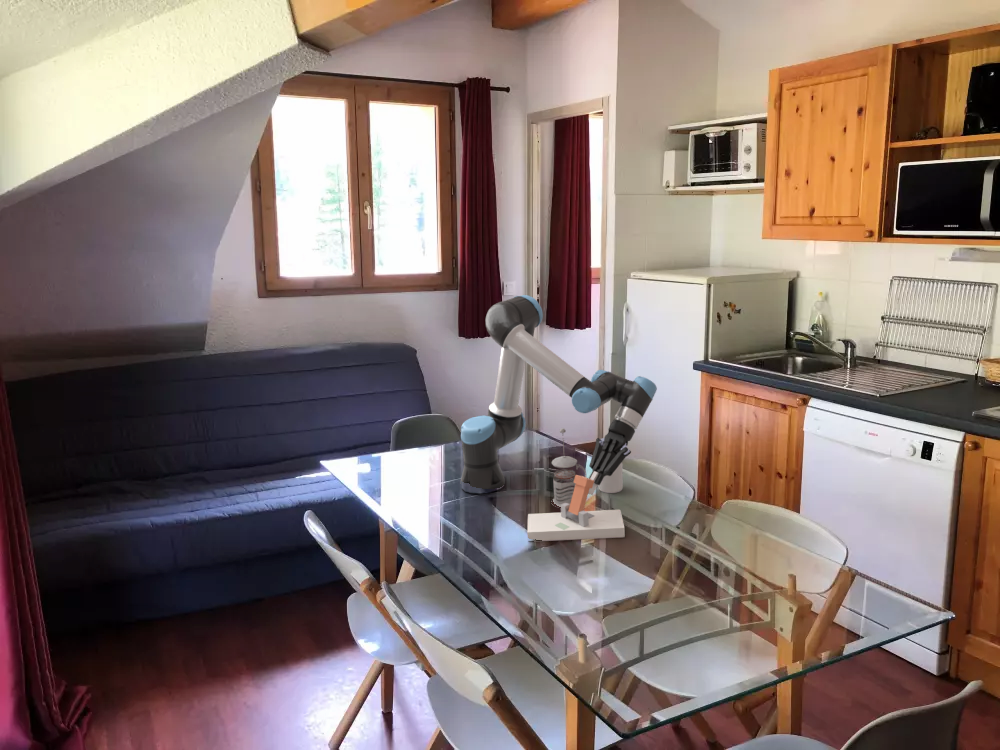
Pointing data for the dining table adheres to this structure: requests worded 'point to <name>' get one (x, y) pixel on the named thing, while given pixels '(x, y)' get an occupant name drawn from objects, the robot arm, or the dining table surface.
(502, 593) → the dining table surface
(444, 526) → the dining table surface
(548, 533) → the white switch base plate
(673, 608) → the dining table surface
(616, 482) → the pill bottle
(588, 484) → the lever
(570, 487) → the french press
